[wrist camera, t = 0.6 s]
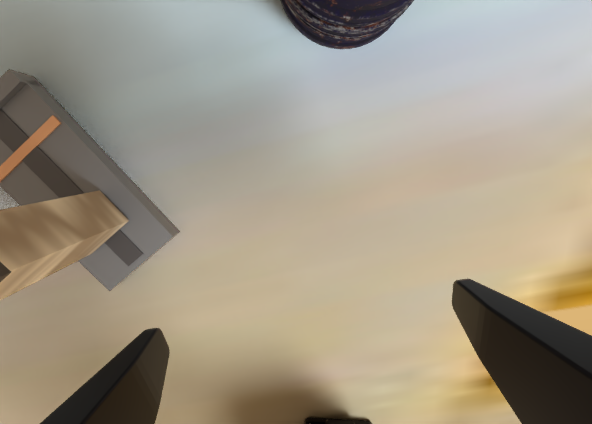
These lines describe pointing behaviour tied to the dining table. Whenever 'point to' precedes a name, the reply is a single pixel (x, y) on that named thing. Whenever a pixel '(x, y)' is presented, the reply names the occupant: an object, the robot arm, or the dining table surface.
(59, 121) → the fader track
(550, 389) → the robot arm
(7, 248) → the lever
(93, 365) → the dining table surface
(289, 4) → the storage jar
